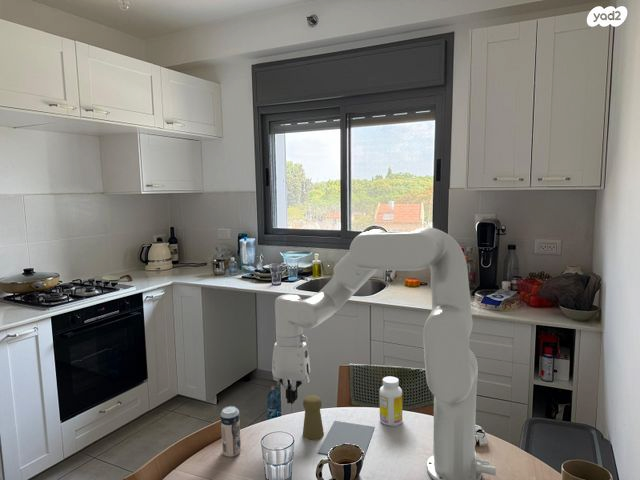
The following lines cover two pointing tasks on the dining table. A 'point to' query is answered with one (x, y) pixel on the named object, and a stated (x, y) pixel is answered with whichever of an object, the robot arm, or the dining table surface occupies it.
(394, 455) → the dining table surface
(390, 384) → the supplement bottle
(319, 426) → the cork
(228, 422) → the beer can
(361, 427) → the mat
